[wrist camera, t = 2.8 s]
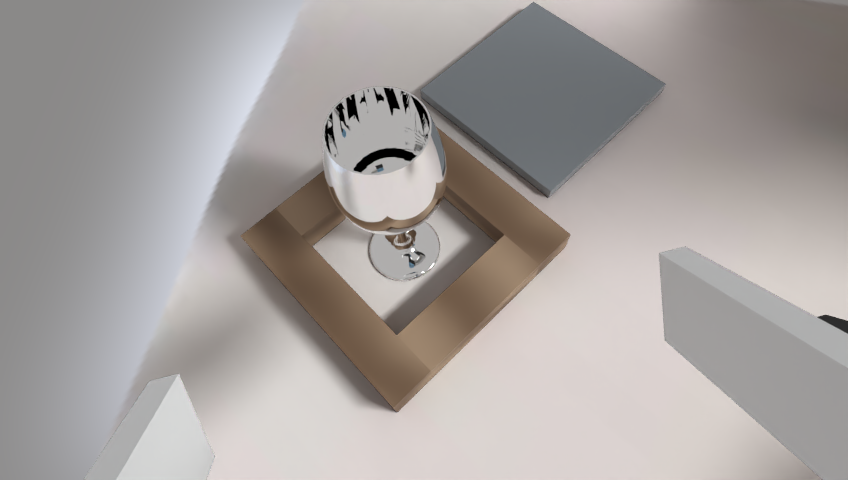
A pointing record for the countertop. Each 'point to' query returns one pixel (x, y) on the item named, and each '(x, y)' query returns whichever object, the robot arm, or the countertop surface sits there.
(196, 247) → the countertop surface
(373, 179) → the wineglass
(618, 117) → the coaster
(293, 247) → the brown wooden square frame
